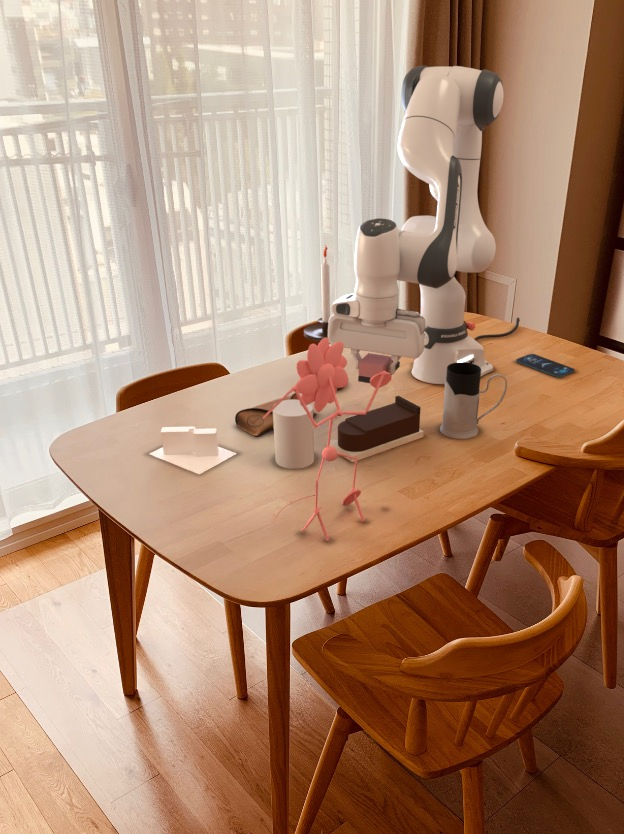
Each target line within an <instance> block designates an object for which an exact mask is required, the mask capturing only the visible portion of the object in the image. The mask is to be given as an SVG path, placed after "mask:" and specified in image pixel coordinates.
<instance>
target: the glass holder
mask: <svg viewBox="0 0 624 834" xmlns="http://www.w3.org/2000/svg"><path fill="white" fill-rule="evenodd" d="M481 377H482V376H481V368H480V367H479V366H478V365H475V364H472V363H467V362H456V363H452V364H450V365H448V366H447V375H446V377H445V384H444V392H443V393H444V394H443V409H442V422H441V424H440V427H439V431H440V433H441V434H442V435H443V436H445V437H448V438H451V439H456V440H457V439H458V440H466V439H471V438H474V437H476V436H477V435H478V433H479V429H478V424H479V421H480V420H481V419H482V418H484V417H485V416H486V415H488V414H490V413H491V412H492V411H494V410H495V409H496V408H497V407H499V405H500V404H501V403H502V402H503V399H504V398H505V395H506V393H507V388H508V380H507V378H506V377H505V376H504V375H503V374H500V373H496V374H495V373H494V374H493V375H491V376H490V377H489V378H488V380H487V382H486V388H485V389H484V390H481V389H480V388H481ZM495 377H500V378H502V379H504V382H505V383H504V384H505V385H504V390H503V392H502V395H501V396H500V398H499V400H498V401H497V402H496V404H494V406H492V407H491V408H490V409H488V410H486V411H485V412H484V413H483V414H481V415H480V416H479V405H480V396H481V395H480V394H485V393H487V391H488V390H489V386H490V382H491V381H492V379H494V378H495Z"/></svg>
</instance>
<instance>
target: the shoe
mask: <svg viewBox="0 0 624 834" xmlns="http://www.w3.org/2000/svg"><path fill="white" fill-rule="evenodd" d="M394 400H395V401H394V402H392V403H389V404H387V405H384V406H380V407H377V408H375V409H371V410H368V412H366V411H365V412H366V415H352V416H349V417H346V418H345V419H344V420H343V421H340V423H339V424H338V425H337V438H336V439H332V440H330V445H329V446H332V447H334V448H336V450H337V453H341V454H344V455H348V456H352V457H356V458H357V459H358V461H360V460H363V459H366V458H369V457H372V456H374V455H377V454H380V453H383V452H386V451H388V450H391V449H393V448H397V447H399V446H403V445H405V444H408V443H411V442H414V441H416V440H419V439H422V438H424V434H425V431H424V430H423V429H421V428H420V427H421V426H420V425H421V423H420V422H421V406H419V405H417V404H415V403H413V402H412V401H410V400H408V399H406V398H404V397H402V396H401V395H395V398H394ZM342 457H343V458H344V459H346V460H348V462H350V463H355V460H356V459H352V458H348V457H344V456H342Z"/></svg>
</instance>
